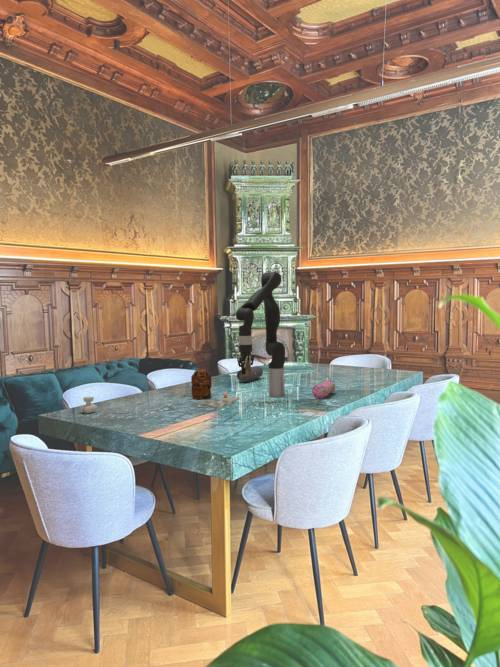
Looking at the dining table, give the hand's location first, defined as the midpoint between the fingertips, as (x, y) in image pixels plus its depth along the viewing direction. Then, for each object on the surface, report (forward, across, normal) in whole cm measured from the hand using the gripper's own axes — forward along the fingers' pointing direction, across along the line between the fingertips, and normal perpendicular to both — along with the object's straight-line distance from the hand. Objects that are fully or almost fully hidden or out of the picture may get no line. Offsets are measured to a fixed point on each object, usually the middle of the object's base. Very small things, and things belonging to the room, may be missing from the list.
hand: (246, 373), depth 257 cm
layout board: (+17, -11, +13) cm, 24 cm away
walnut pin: (+2, 0, 0) cm, 2 cm away
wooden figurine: (+17, -4, +31) cm, 36 cm away
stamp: (+17, -63, +59) cm, 88 cm away
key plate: (+17, +2, +14) cm, 22 cm away
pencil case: (+18, +41, -28) cm, 53 cm away
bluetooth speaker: (+18, +59, +42) cm, 74 cm away
